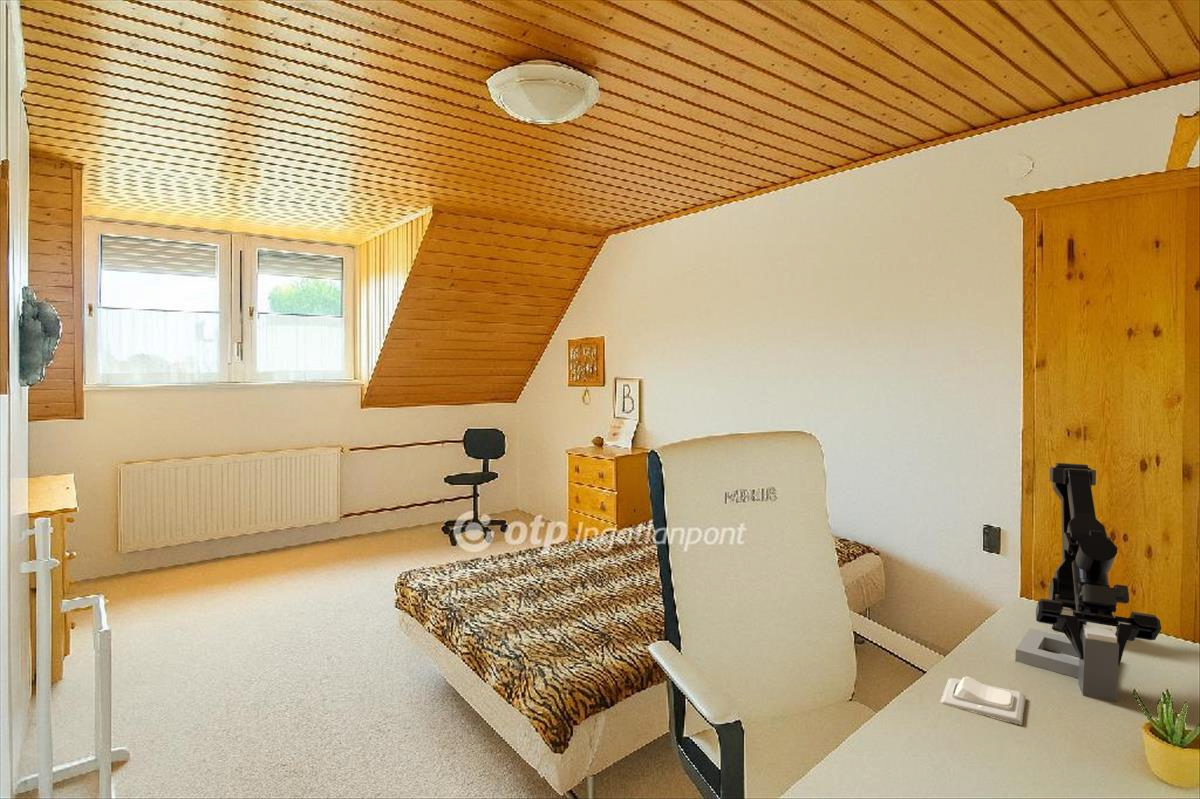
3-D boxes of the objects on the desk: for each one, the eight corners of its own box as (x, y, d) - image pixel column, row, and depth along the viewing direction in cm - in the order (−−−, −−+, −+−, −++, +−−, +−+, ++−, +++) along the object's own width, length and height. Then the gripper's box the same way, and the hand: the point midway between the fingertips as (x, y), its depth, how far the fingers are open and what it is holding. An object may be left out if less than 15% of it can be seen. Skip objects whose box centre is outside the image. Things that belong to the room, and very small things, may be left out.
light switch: (947, 664, 126) (1024, 680, 119) (948, 685, 127) (1025, 701, 119) (938, 688, 118) (1021, 706, 110) (939, 710, 118) (1022, 729, 110)
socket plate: (1029, 638, 143) (1029, 626, 143) (1108, 658, 134) (1109, 646, 133) (1015, 660, 133) (1015, 647, 133) (1099, 684, 124) (1100, 670, 123)
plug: (1078, 683, 124) (1080, 623, 123) (1110, 689, 122) (1113, 628, 121) (1082, 695, 120) (1085, 633, 119) (1116, 702, 117) (1119, 639, 116)
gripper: (1039, 559, 127) (1044, 634, 118) (1161, 573, 118) (1176, 656, 109) (1033, 584, 134) (1037, 657, 126) (1147, 600, 125) (1160, 679, 117)
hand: (1099, 661), depth 119 cm, fingers closed on plug, 5 cm apart
